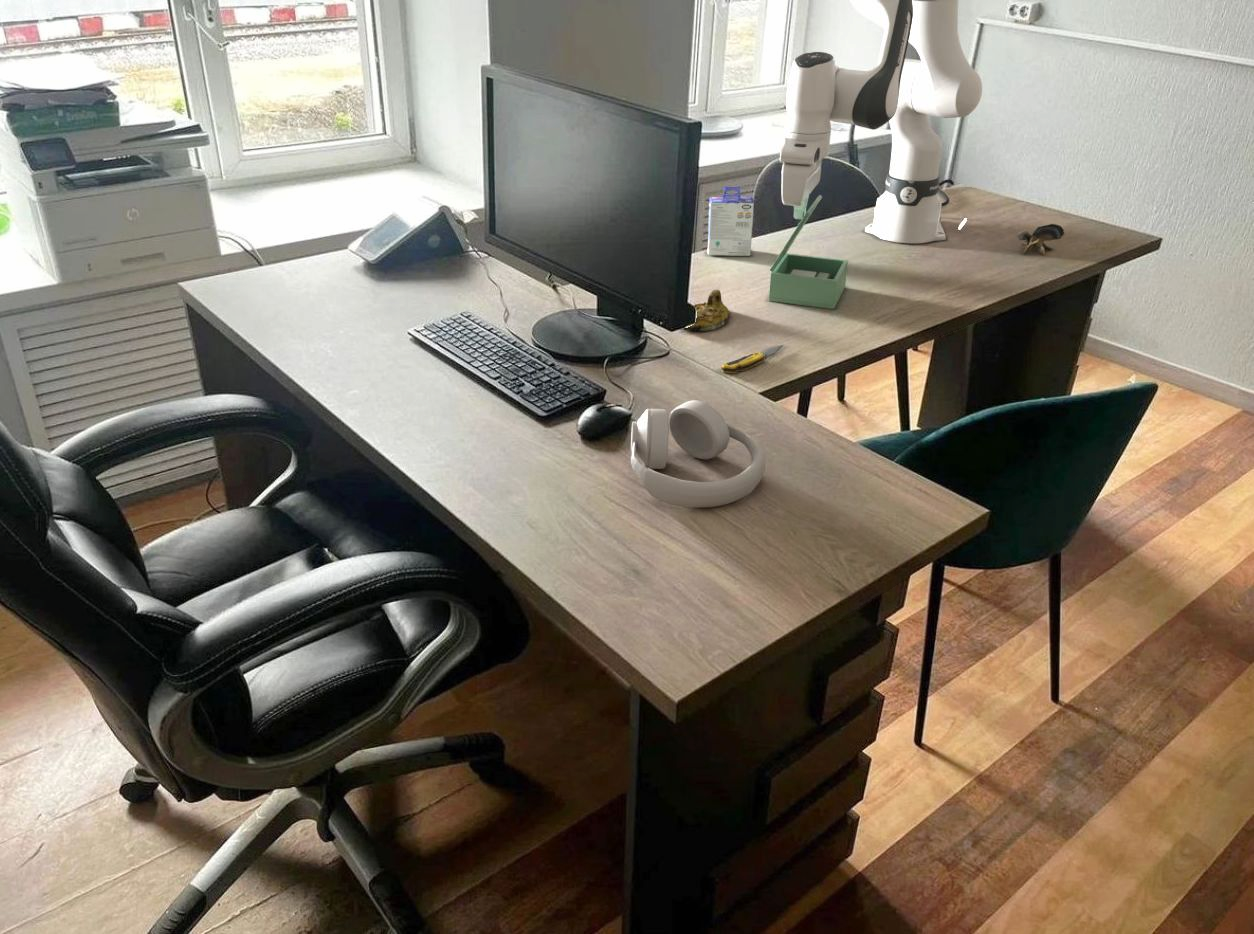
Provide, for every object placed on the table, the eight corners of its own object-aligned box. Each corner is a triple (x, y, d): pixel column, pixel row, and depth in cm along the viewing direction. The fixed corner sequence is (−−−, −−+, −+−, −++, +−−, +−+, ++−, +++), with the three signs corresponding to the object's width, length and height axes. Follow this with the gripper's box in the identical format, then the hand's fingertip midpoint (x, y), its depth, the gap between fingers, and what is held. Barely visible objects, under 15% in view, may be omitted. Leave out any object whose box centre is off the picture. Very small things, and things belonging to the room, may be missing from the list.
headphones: (603, 448, 145) (661, 534, 131) (606, 404, 140) (666, 488, 126) (715, 426, 151) (782, 505, 137) (721, 382, 147) (791, 460, 132)
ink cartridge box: (749, 249, 230) (753, 185, 222) (751, 256, 225) (756, 192, 218) (706, 248, 230) (709, 185, 222) (707, 256, 225) (710, 191, 218)
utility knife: (775, 338, 180) (789, 342, 179) (775, 344, 181) (788, 349, 179) (720, 365, 170) (734, 370, 168) (720, 371, 170) (734, 376, 169)
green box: (845, 287, 208) (848, 260, 205) (833, 309, 197) (837, 281, 194) (782, 279, 211) (785, 253, 209) (768, 300, 200) (770, 273, 197)
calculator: (784, 291, 203) (785, 275, 201) (789, 283, 207) (790, 268, 205) (826, 296, 200) (827, 280, 199) (830, 288, 204) (832, 273, 203)
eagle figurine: (1046, 256, 223) (1070, 241, 227) (1033, 226, 222) (1058, 212, 226) (1020, 265, 230) (1043, 251, 234) (1007, 237, 229) (1031, 223, 233)
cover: (822, 196, 200) (819, 194, 201) (809, 213, 189) (806, 211, 189) (786, 252, 208) (784, 250, 208) (772, 272, 197) (769, 270, 197)
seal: (709, 342, 184) (738, 315, 196) (712, 319, 182) (742, 293, 193) (663, 328, 187) (695, 302, 199) (666, 305, 185) (699, 280, 196)
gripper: (800, 133, 200) (794, 202, 207) (777, 155, 183) (772, 229, 190) (832, 135, 198) (824, 205, 205) (812, 158, 181) (805, 232, 188)
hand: (799, 217), depth 197 cm, fingers closed
